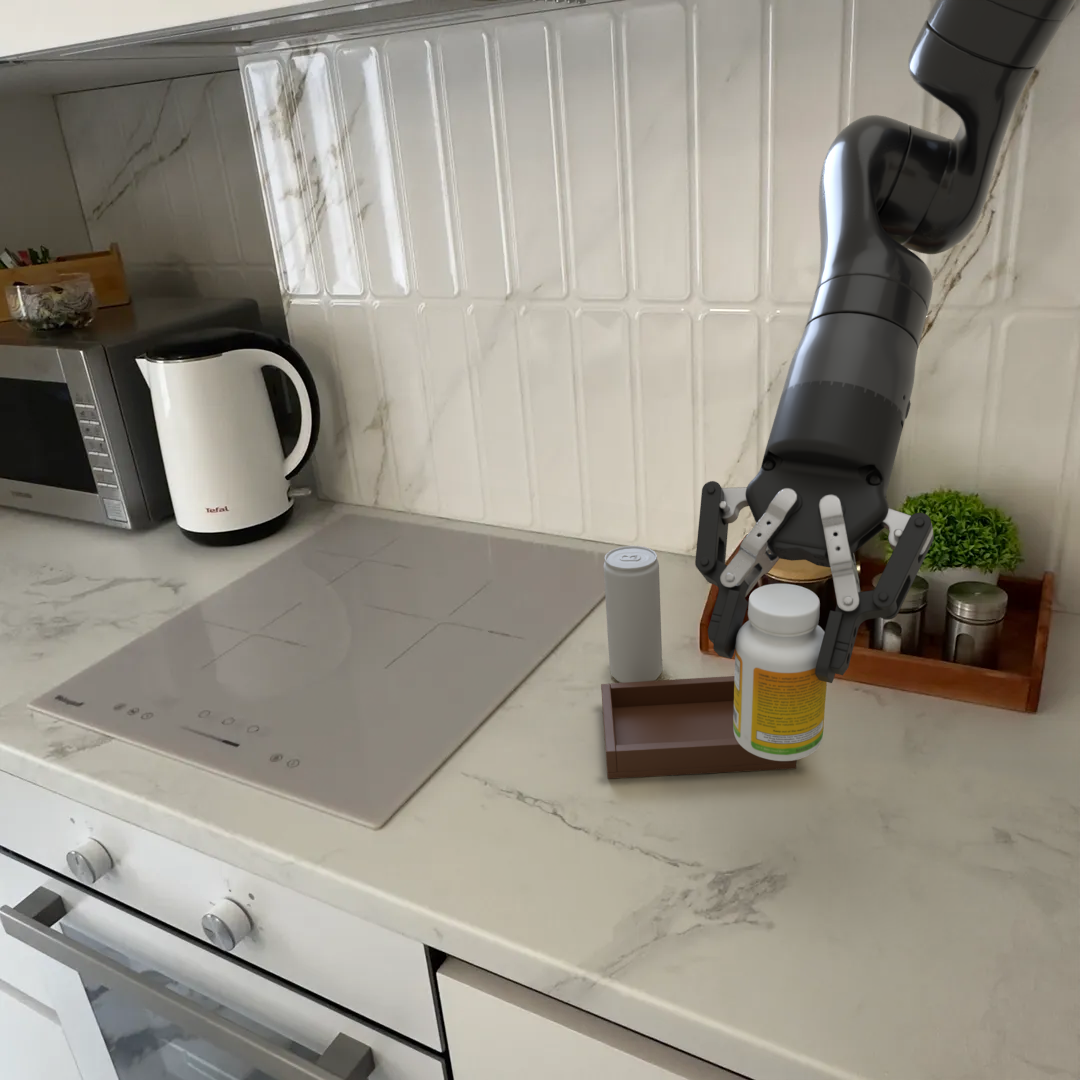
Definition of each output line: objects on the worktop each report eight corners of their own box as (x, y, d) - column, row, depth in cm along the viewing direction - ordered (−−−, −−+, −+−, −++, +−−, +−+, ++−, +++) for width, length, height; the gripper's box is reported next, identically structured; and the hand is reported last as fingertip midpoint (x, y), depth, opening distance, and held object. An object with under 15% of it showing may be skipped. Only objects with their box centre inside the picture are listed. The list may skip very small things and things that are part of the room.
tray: (771, 699, 84) (772, 673, 83) (796, 768, 75) (797, 741, 74) (602, 709, 85) (600, 683, 84) (607, 779, 76) (605, 751, 75)
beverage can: (661, 689, 87) (657, 568, 82) (607, 688, 88) (600, 569, 83) (663, 660, 91) (659, 544, 86) (612, 660, 92) (605, 545, 87)
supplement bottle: (841, 742, 59) (854, 602, 55) (775, 776, 57) (783, 632, 53) (778, 701, 64) (785, 568, 59) (714, 730, 61) (717, 594, 57)
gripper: (717, 366, 61) (638, 622, 57) (964, 388, 54) (894, 681, 50) (743, 421, 67) (674, 655, 63) (968, 447, 60) (906, 712, 56)
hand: (772, 665), depth 56 cm, fingers closed on supplement bottle, 5 cm apart
